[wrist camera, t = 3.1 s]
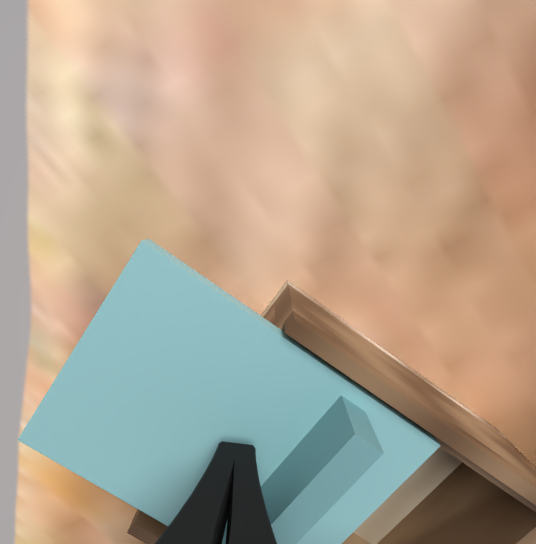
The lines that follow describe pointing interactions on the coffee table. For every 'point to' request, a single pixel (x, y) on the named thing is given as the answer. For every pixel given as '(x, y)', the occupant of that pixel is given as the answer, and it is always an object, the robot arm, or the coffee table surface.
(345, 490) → the lid
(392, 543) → the box
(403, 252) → the coffee table surface
